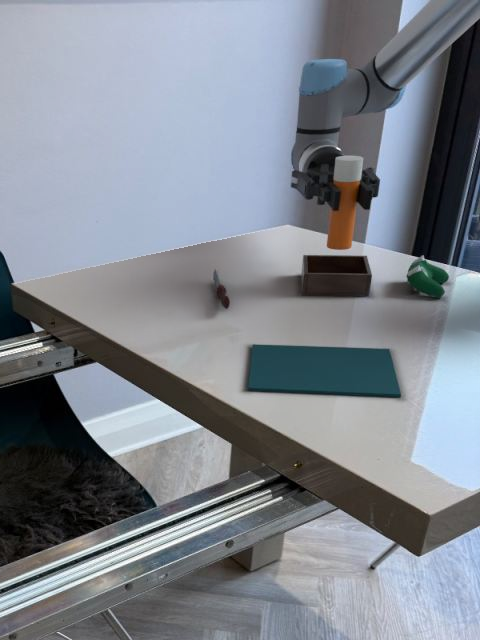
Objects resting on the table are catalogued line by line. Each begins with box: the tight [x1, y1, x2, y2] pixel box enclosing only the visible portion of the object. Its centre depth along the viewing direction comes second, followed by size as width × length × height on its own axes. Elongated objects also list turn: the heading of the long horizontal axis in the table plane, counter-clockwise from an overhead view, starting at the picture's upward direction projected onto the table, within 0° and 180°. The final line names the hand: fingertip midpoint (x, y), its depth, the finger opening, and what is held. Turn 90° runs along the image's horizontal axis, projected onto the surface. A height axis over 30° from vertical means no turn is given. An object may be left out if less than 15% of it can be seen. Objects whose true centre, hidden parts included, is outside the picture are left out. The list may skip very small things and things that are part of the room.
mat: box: [247, 343, 402, 398], centre depth 101 cm, size 18×14×1 cm
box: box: [300, 254, 373, 297], centre depth 127 cm, size 10×10×3 cm
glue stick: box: [326, 155, 364, 251], centre depth 121 cm, size 4×4×13 cm
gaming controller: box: [406, 254, 450, 299], centre depth 123 cm, size 9×4×6 cm
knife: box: [212, 268, 231, 310], centre depth 125 cm, size 18×2×3 cm, turn 179°
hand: (352, 200), depth 115 cm, fingers closed on glue stick, 4 cm apart
